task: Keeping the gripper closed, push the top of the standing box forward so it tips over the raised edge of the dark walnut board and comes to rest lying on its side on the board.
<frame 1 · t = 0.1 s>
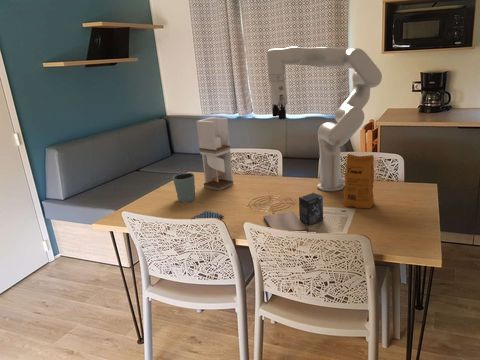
hand: (279, 117, 180), 37 cm above the table, tool pointing down, fingers open, 9 cm apart
teal cup: (186, 199, 196), on the table
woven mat: (208, 221, 171), on the table
box: (311, 221, 160), on the table
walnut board: (284, 225, 158), on the table
coffee package: (358, 204, 172), on the table
white drip coffee maker: (218, 186, 213), on the table
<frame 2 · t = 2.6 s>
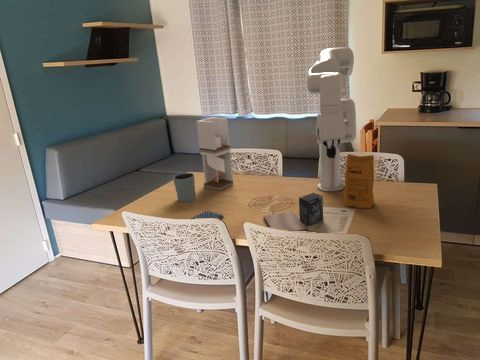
hand: (331, 157, 154), 25 cm above the table, tool pointing down, fingers closed
nothing on the table moved.
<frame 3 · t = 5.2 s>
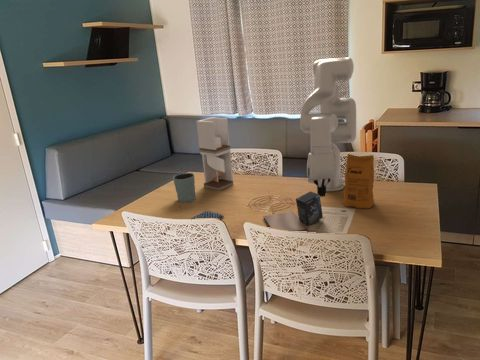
hand: (321, 195, 157), 10 cm above the table, tool pointing down, fingers closed
box: (311, 220, 160), on the table, touching gripper
everything else where it was.
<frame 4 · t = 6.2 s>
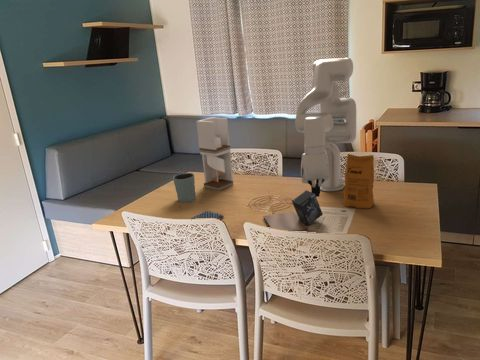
hand: (315, 195, 156), 11 cm above the table, tool pointing down, fingers closed
box: (311, 218, 159), point 1 cm above the table, touching gripper, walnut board
everything else where it was.
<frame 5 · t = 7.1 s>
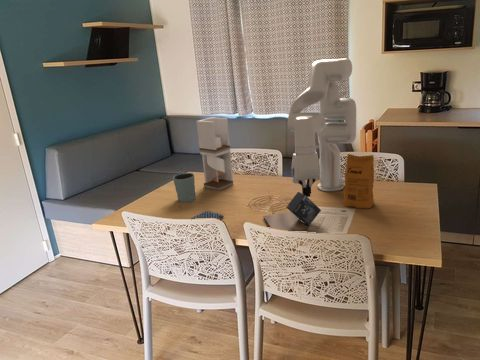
hand: (306, 195, 156), 11 cm above the table, tool pointing down, fingers closed
box: (312, 216, 158), point 2 cm above the table, touching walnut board
everything else where it was.
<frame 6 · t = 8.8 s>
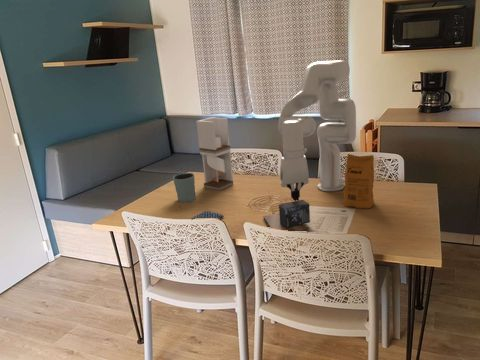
hand: (295, 199, 156), 10 cm above the table, tool pointing down, fingers closed
box: (307, 210, 156), point 5 cm above the table, touching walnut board
everything else where it was.
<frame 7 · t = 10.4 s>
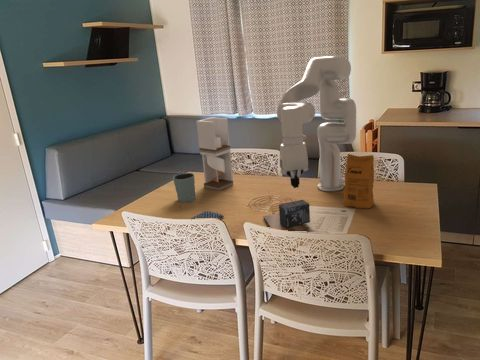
hand: (295, 186, 155), 15 cm above the table, tool pointing down, fingers closed
nothing on the table moved.
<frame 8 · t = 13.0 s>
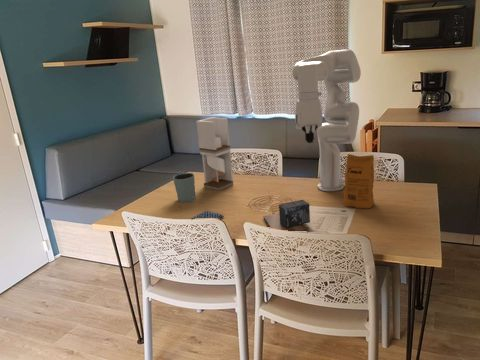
hand: (309, 142, 163), 29 cm above the table, tool pointing down, fingers closed
nothing on the table moved.
at the end: box tilted 90°; box inside the target area on the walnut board (5.6 cm from its centre), point 5.4 cm above the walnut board's base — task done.
